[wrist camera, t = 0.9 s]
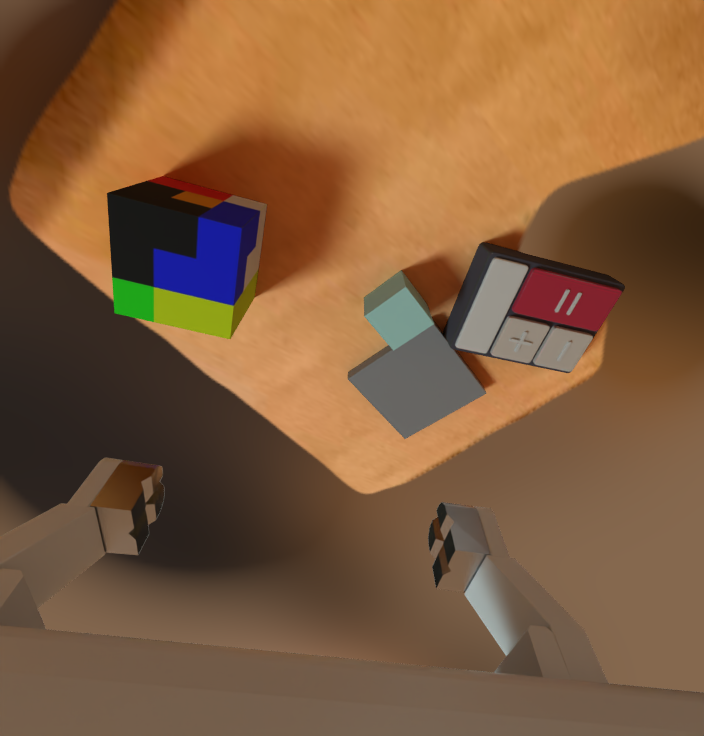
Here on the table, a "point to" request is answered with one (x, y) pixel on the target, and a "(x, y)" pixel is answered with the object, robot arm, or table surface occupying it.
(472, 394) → the slate coaster
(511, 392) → the table surface
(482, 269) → the calculator
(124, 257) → the puzzle toy
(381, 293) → the teal cube
